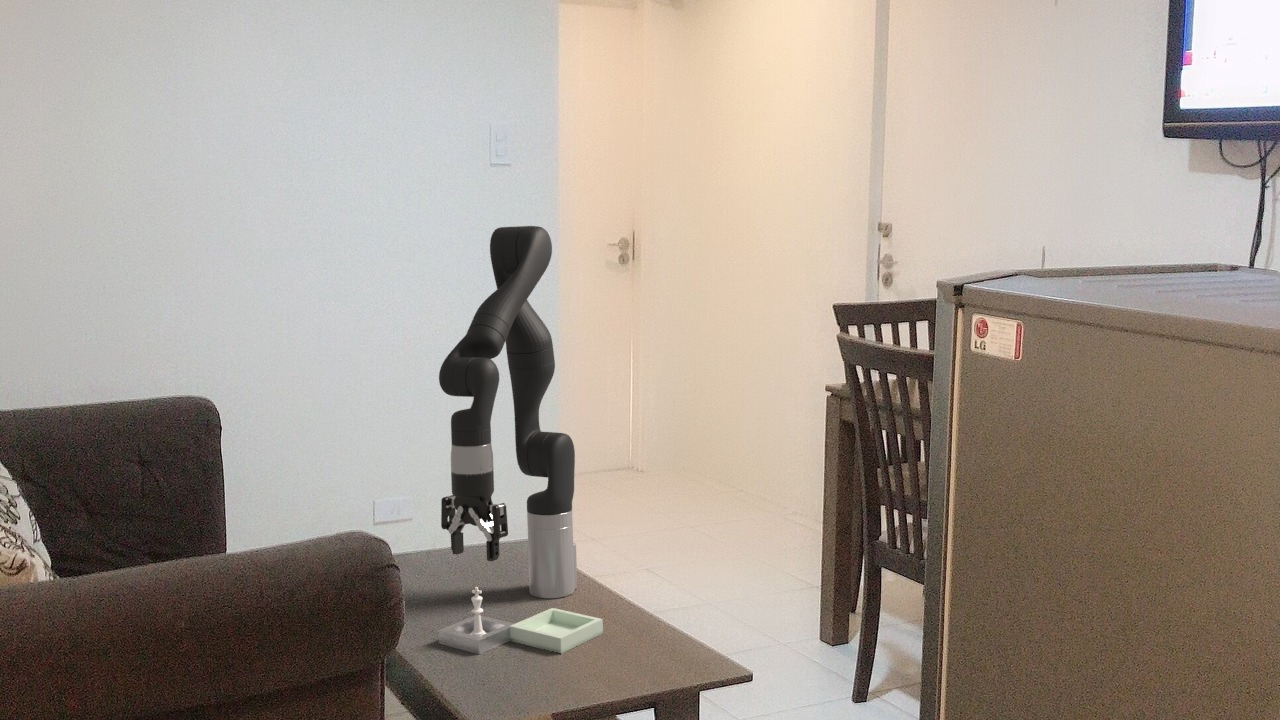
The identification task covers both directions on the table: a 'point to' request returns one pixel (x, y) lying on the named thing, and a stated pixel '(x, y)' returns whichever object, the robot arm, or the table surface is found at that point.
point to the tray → (556, 630)
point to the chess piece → (477, 613)
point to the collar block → (463, 640)
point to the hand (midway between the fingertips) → (475, 556)
